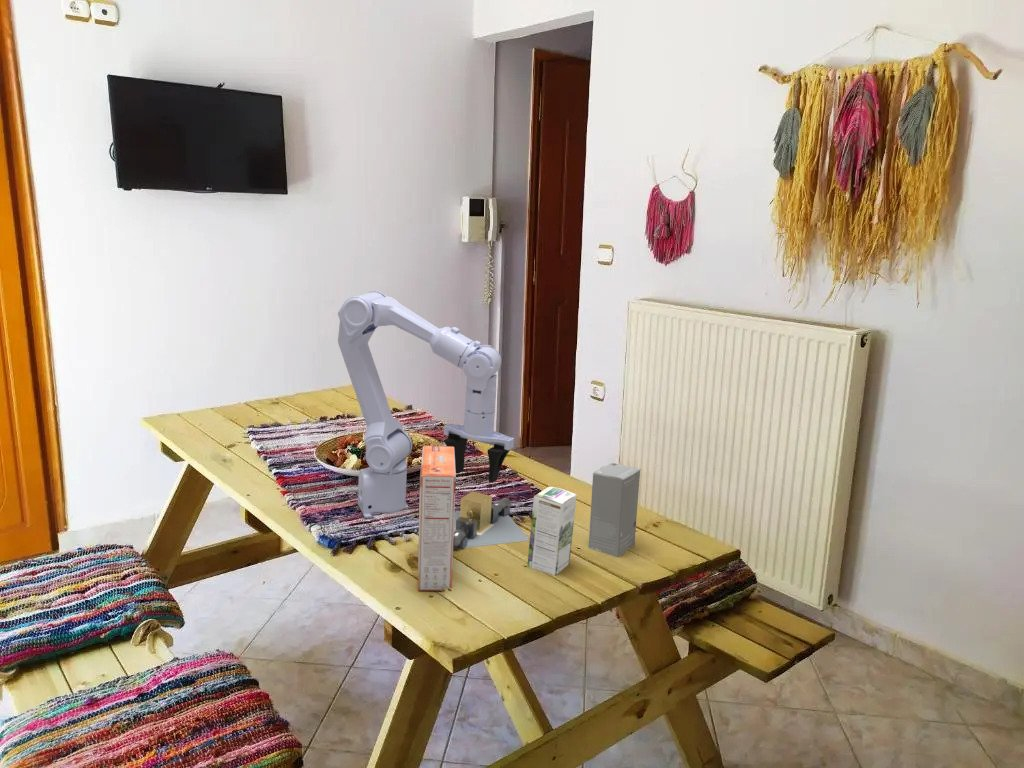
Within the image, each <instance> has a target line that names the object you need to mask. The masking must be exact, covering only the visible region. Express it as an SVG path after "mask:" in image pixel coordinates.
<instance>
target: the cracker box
mask: <svg viewBox="0 0 1024 768" xmlns="http://www.w3.org/2000/svg"><path fill="white" fill-rule="evenodd" d="M421 452H422V453H421V461H420V462H421V464H420V475H419V500H418V503H419V504H418V507H419V508H418V544H417V545H418V548H417V551H418V552H417V553H418V556H417V558H418V559H417V562H418V564H417V568H418V569H417V579H418V580H417V581H418V582H417V585H418V587H417V588H418V591H419V592H422V591H423V592H430V591H431V592H437V591H438V592H445V591H446V590H445V589H451V588H453V587H452V586H453V584H452V583H453V565H454V564H453V563H454V562H453V559H454V558H453V557H454V556H453V555H454V549H453V537H454V511H456V510H455V509H456V508H455V506H456V505H455V504H456V486H457V473H456V469H455V452H454V447H447V446H438V445H423V446H422V451H421Z"/></svg>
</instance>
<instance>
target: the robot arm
mask: <svg viewBox="0 0 1024 768" xmlns="http://www.w3.org/2000/svg"><path fill="white" fill-rule="evenodd" d="M337 315H338V318H339V325H338V333H337V334H338V336H337V343H338V346H339V349H340V353H341V356H342V359H343V361H344V363H345V364H344V365H345V367H346V370H347V373H348V375H349V379H350V382H351V384H352V387H353V390H354V393H355V396H356V399H357V401H358V404H359V407H360V410H361V413H362V415H363V419H364V422H365V425H366V429H365V434H364V438H363V442H364V444H365V461H366V463H367V465H368V467H366V468H365V467H364V468H361V469H359V471H358V485H357V486H358V498H357V500H358V501H357V504H358V507H359V509H360V511H361V513H362V516H363V517H364V519H367V518H375V516H374V515H373V514H375V513H395V512H399V511H401V510H403V509H405V508H409V505H408V503H407V500H406V499H407V477H408V476H407V472H408V467H407V466H408V463H407V457H409V456H410V455H411V452H412V450H413V442H412V438H411V437H410V436H409V435H408V434H407V432H406V431H405V430H404V428H403V426H402V423H401V421H399V420H398V419H396V418H394V417H393V414H392V410H391V407H390V404H389V402H388V398H387V396H386V392H385V391H384V387H383V384H382V382H381V378H380V375H379V372H378V369H377V367H376V364H375V361H374V358H373V354H372V352H371V349H370V346H369V341H370V340H371V338H372V336H373V334H374V332H375V331H376V329H377V328H378V327H386V326H395V327H396V328H399V329H400V330H402V331H404V332H406V333H408V334H411V335H413V336H414V337H417V338H418V339H420V340H422V341H424V342H426V343H428V344H429V345H430V347H431V351H432V353H433V354H435V355H436V356H438V357H440V358H441V359H443V360H446V362H448V363H451V364H452V365H454V366H456V367H457V368H459V369H462V372H463V374H464V375H465V376H466V387H465V403H464V404H465V405H464V420H463V421H464V422H463V424H456V423H450V422H449V423H446V424H444V426H443V436H447V438H445V440H444V443H445V444H444V445H445V447H454V452H455V469H456V475H458V474H461V473H462V472H464V468H465V457H466V455H465V454H466V449H467V444H468V440H470V441H475V442H478V443H483V444H487V445H490V446H491V448H488V449H487V454H488V456H487V457H488V464H489V465H488V466H489V467H488V468H489V469H488V483H495V482H496V481H497V480H498V476H499V473H500V471H501V468H502V465H503V463H504V461H505V459H506V457H507V455H508V454H509V452H510V451H511V450H512V449H513V448H514V445H515V444H514V443H515V437H511V436H508V435H506V434H503V433H501V432H497V431H496V430H495V429H494V428H495V416H496V415H495V412H496V398H497V396H496V395H497V377H498V375H497V374H496V373H498V371H499V370H500V368H501V365H502V356H501V355H500V353H499V351H498V350H497V349H496V348H495V347H493V346H492V345H490V344H483V345H481V344H482V342H480V341H479V340H475V341H474V340H472V339H471V338H469V337H468V336H466V335H464V334H462V333H460V328H458V327H456V326H453V327H450V326H445V327H441V328H439V327H437V326H435V325H434V324H433V323H431V322H429V321H428V320H426V319H425V318H423V317H421V315H418V314H417V313H415V312H414V311H412V310H411V309H409V308H408V307H406V306H404V305H403V304H401V303H400V302H399V301H397V300H396V299H395V298H394V297H391V296H389V295H388V296H387V295H386V294H385V293H383V292H381V291H379V290H372V291H369V292H367V293H364V294H359V295H354V296H350V297H348V298H347V299H346V300H344V302H343V304H342V306H341V307H340V309H339V310H338V312H337ZM492 446H493V447H492Z"/></svg>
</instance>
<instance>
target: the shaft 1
mask: <svg viewBox="0 0 1024 768" xmlns="http://www.w3.org/2000/svg"><path fill="white" fill-rule="evenodd" d="M476 536H477V520H473V519H469V518H464V517H459V518H458V519H457V520H456V531H455V532H454V537H453V548H459V549H460V550H464V549H466V548H465V546H466V545H467V538H468V539H472V540H473V539H474V538H475V537H476Z"/></svg>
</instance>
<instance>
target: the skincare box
mask: <svg viewBox="0 0 1024 768" xmlns="http://www.w3.org/2000/svg"><path fill="white" fill-rule="evenodd" d="M640 477H641V469H640V468H638V467H637V468H636V467H632V466H627V465H624V464H619V463H613V462H611V463H608V464H606V465H603V466H601V467H600V468H599V469H598V470H595V471H593V473H592V483H591V485H592V487H591V501H590V503H591V504H590V515H589V516H590V520H589V534H588V538H589V539H588V549H591V550H594V551H596V552H600V553H603V554H606V555H610V556H612V557H616V558H620V557H621V556H622V555H624V553H626V552H627V551H628V550H629V549H631V547H632V546H633V547H634V546H635V542H636V529H637V528H636V527H637V515H638V504H639V503H638V502H639V492H640V489H639V488H640V479H641V478H640Z"/></svg>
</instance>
